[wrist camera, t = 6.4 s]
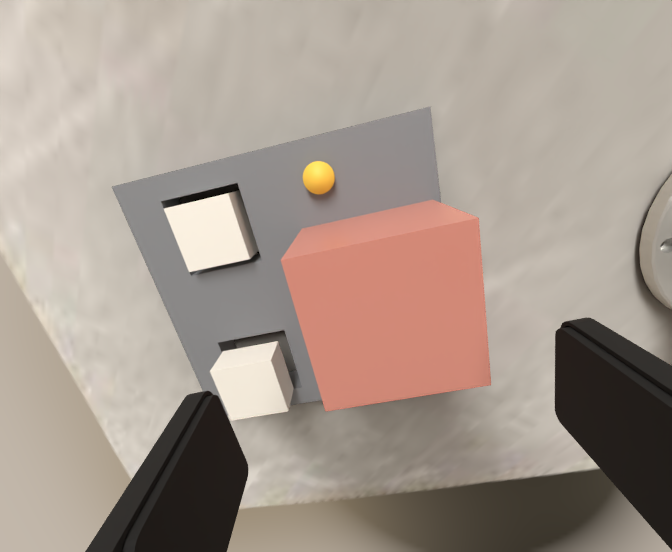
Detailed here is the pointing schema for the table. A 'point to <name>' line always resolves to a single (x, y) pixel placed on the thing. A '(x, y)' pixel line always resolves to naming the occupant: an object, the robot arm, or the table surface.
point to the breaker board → (275, 229)
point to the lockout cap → (391, 304)
